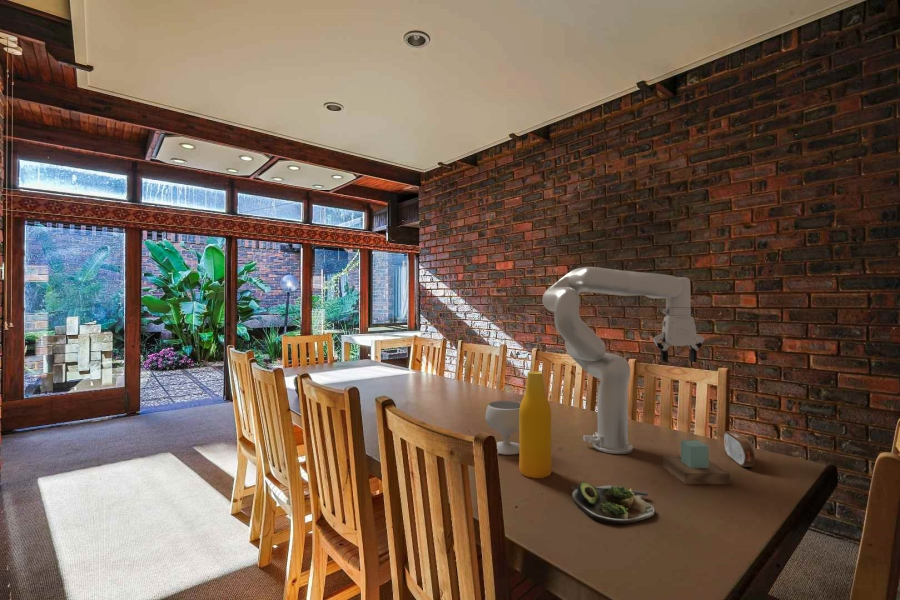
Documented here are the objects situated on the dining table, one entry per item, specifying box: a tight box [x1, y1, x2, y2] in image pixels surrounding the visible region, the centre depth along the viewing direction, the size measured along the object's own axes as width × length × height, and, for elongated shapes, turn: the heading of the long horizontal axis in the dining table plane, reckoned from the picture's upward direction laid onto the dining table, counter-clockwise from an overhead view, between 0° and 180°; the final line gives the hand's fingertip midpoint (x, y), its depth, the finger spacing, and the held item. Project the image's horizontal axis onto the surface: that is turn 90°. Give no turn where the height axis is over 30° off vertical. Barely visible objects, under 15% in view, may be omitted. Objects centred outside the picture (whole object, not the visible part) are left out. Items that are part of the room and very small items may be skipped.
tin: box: [722, 430, 756, 468], centre depth 129 cm, size 15×3×8 cm, turn 168°
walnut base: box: [662, 456, 731, 485], centre depth 120 cm, size 12×12×3 cm
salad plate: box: [571, 481, 656, 525], centre depth 102 cm, size 19×18×5 cm
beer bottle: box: [518, 371, 552, 479], centre depth 122 cm, size 9×9×29 cm
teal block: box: [680, 439, 710, 468], centre depth 120 cm, size 5×5×6 cm
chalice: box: [484, 400, 521, 456], centre depth 141 cm, size 14×14×15 cm
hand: (678, 361), depth 146 cm, fingers open, 9 cm apart
